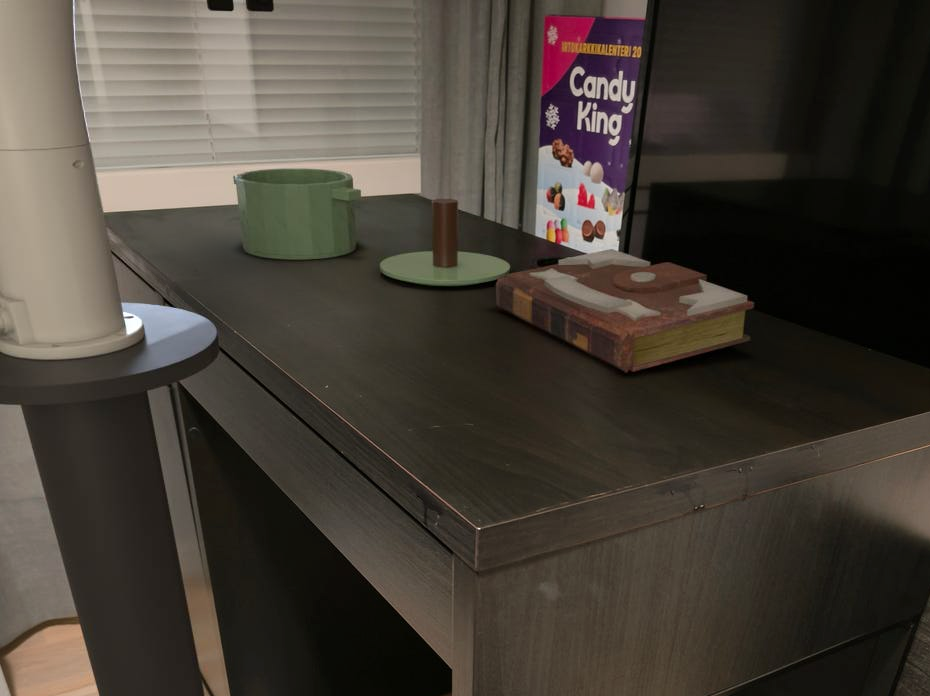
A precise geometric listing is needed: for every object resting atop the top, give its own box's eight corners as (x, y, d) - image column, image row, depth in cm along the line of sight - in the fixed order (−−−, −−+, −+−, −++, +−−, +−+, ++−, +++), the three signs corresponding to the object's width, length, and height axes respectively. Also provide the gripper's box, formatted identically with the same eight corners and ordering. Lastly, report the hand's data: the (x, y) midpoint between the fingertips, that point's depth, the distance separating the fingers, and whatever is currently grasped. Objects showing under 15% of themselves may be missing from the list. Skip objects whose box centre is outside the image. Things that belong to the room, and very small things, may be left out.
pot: (318, 268, 112) (312, 191, 107) (206, 246, 121) (196, 174, 116) (394, 249, 122) (391, 178, 117) (284, 230, 131) (278, 163, 126)
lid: (460, 297, 101) (460, 218, 97) (353, 276, 109) (348, 201, 104) (534, 272, 112) (537, 199, 108) (432, 254, 119) (431, 185, 115)
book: (497, 317, 98) (494, 268, 95) (618, 290, 103) (619, 243, 100) (620, 383, 81) (622, 326, 78) (757, 346, 86) (764, 291, 83)
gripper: (153, -178, 102) (178, 10, 111) (225, -199, 91) (246, 10, 100) (215, -169, 106) (235, 11, 115) (292, -188, 95) (306, 12, 104)
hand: (240, 11), depth 108 cm, fingers open, 9 cm apart
